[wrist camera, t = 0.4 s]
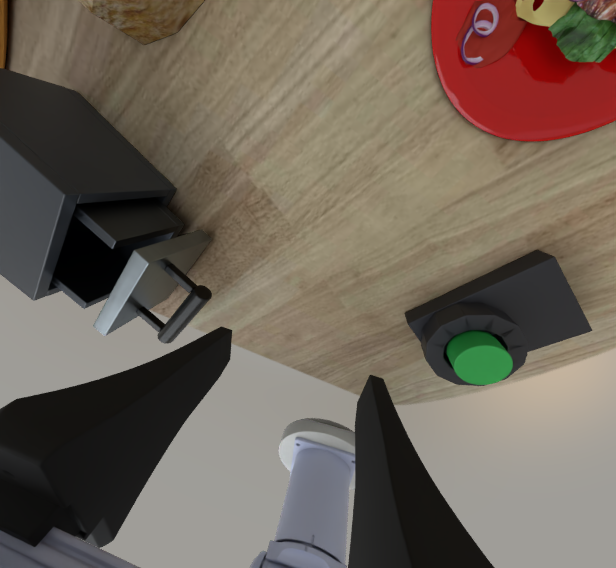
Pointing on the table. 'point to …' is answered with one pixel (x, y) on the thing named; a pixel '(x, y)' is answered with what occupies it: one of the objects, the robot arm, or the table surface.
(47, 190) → the cabinet
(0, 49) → the carrot
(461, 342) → the button
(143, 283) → the drawer
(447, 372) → the block
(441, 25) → the hamburger
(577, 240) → the table surface
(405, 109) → the table surface
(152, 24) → the bread
